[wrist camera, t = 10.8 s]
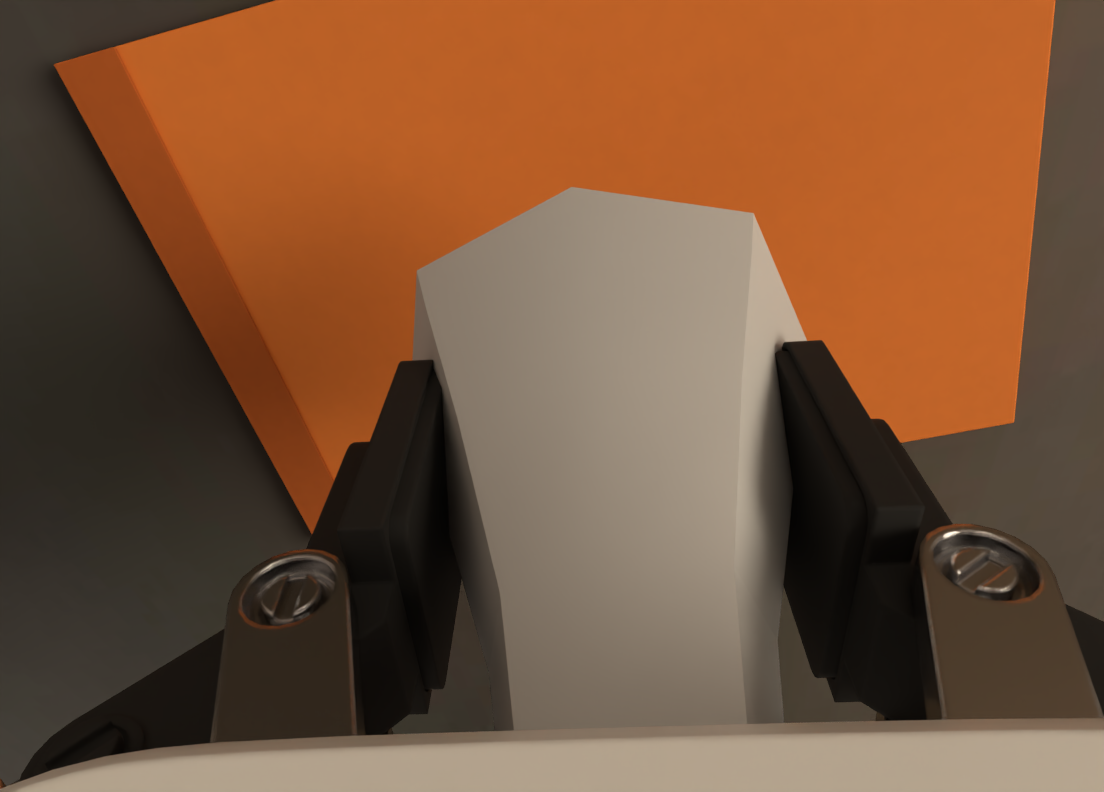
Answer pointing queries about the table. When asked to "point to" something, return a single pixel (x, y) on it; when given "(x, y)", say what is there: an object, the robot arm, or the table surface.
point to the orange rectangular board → (581, 177)
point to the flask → (617, 459)
